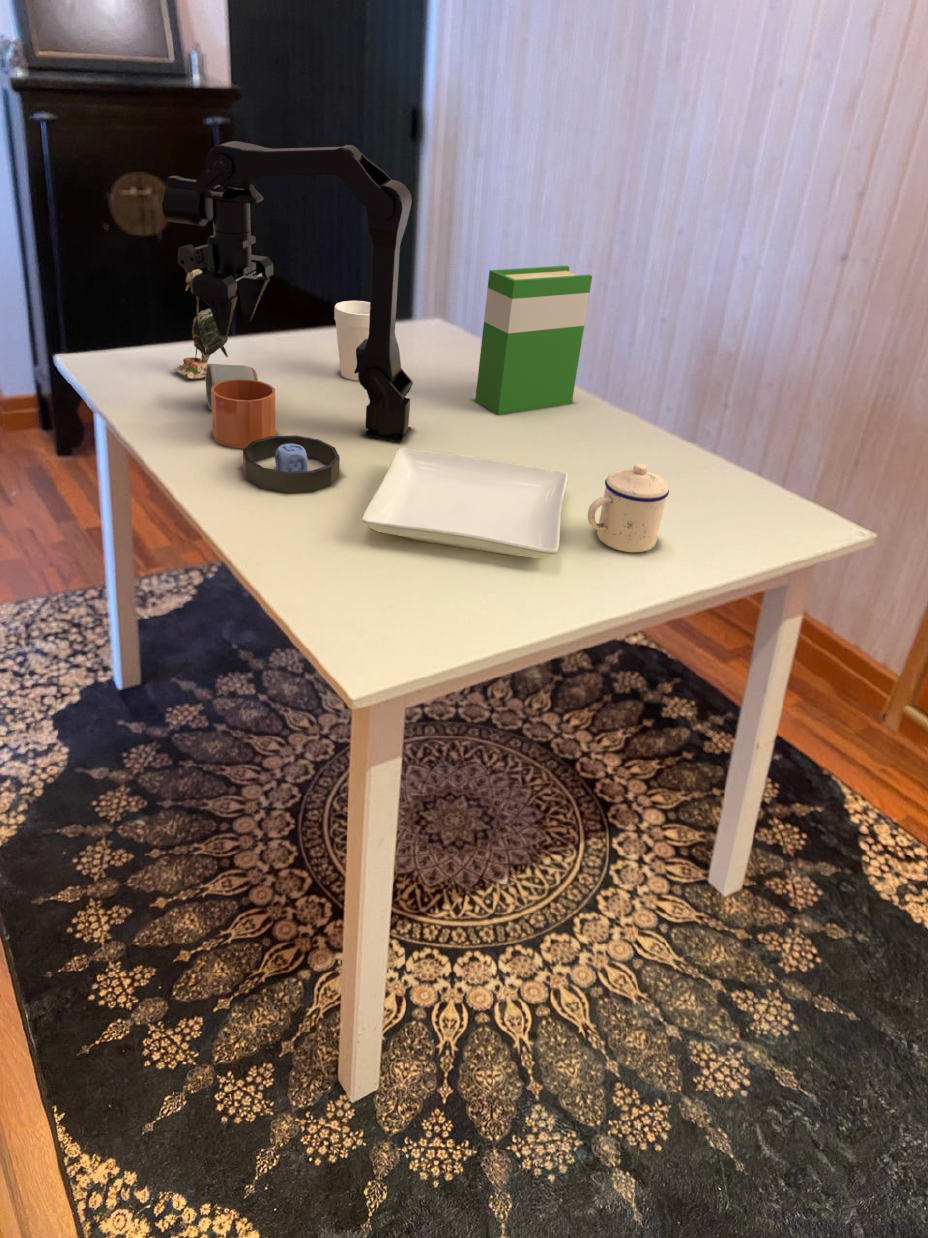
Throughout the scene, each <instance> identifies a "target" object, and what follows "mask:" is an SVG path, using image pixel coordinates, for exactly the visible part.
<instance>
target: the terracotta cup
mask: <svg viewBox="0 0 928 1238" xmlns="http://www.w3.org/2000/svg"><path fill="white" fill-rule="evenodd" d="M211 404H212V410H211V425H212V426H211V428H212V430H211V431H212V438H213V440H214V441H215V442H216V443H218V444H219V445H221V446H225V447H227V448H233V449H242V450H243V449H244V448H245V447H247V446H248V445H249V444H250V443H251V442H252V441H255V440H259V439H263V438H266V437H270V436H276V388H275V387H274V386H272V385H271V384H269V383H267V382H264V381H260V380H258V381H256V380H250V379H233V380H225V381H222V382H218V383H216V384H215V385H213V386H212V387H211Z"/></svg>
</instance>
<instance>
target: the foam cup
mask: <svg viewBox="0 0 928 1238" xmlns="http://www.w3.org/2000/svg"><path fill="white" fill-rule="evenodd" d="M333 315H334V317H333V319H334V321H335V328H336V340H337V348H338V349H337V350H338V359H339V370H340V375H341V376H342V377H343V378H345V379H347V380H351V381H359V378H358V373H359V372H358V373H356V374H355V373H354V372H355V369H356V366H357V358H356V348H357V347H358V346H359V345H360V344H361V343H362V342H363V341H364V340H365V339H368V336H369V320H370V301H364V300H345V301H340V302H336V304H335V305H334V313H333Z"/></svg>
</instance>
